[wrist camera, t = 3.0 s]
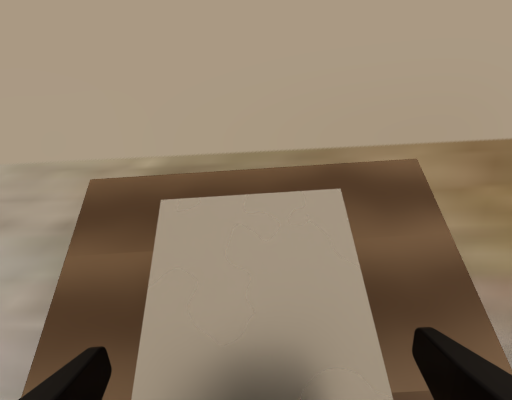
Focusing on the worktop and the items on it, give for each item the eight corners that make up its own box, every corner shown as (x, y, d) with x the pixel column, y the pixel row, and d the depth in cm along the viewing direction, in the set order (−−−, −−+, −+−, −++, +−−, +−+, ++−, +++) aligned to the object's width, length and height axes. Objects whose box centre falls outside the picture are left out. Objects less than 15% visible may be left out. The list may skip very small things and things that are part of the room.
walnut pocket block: (465, 457, 13) (584, 531, 8) (79, 478, 13) (-31, 563, 8) (380, 201, 20) (416, 158, 15) (132, 216, 20) (90, 179, 15)
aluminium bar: (311, 365, 13) (399, 423, 5) (218, 371, 13) (125, 439, 5) (299, 270, 16) (340, 188, 7) (219, 275, 16) (160, 200, 7)
